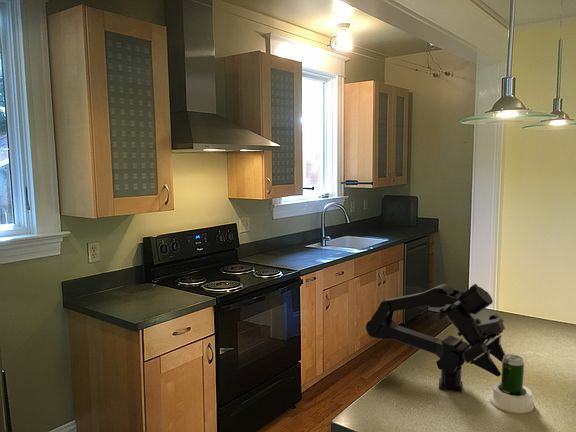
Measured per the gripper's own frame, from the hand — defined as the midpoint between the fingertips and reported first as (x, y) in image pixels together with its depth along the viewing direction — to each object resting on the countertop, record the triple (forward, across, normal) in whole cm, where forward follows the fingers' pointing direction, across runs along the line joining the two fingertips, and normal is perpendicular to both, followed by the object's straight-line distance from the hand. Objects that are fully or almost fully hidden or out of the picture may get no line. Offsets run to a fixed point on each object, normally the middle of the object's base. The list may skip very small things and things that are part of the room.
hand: (503, 369), depth 132 cm
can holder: (+8, 0, +5) cm, 9 cm away
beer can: (+7, 0, +4) cm, 9 cm away
